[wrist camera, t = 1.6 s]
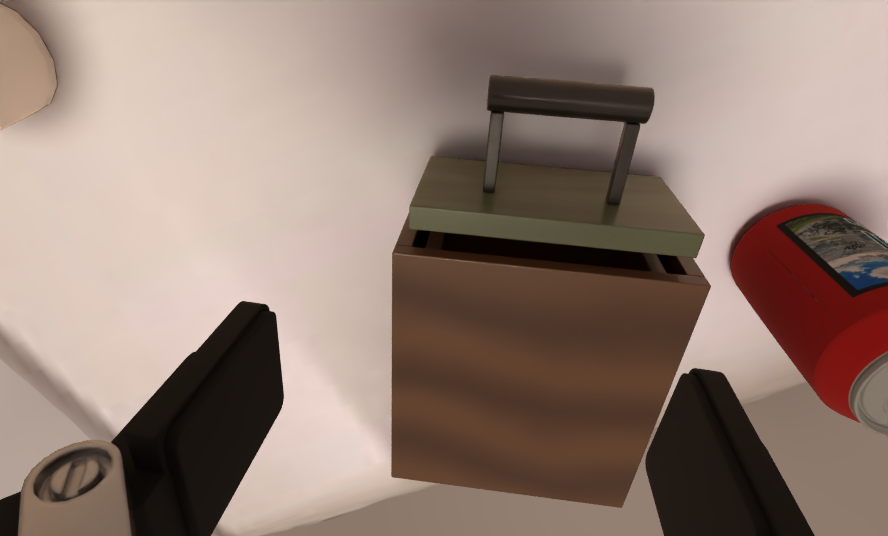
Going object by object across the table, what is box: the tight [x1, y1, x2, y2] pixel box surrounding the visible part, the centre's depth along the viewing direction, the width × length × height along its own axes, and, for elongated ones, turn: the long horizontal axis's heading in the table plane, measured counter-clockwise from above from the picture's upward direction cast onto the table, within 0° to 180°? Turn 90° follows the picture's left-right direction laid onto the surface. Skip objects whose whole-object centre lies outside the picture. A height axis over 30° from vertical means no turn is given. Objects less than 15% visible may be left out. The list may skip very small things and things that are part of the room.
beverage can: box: [731, 204, 888, 437], centre depth 25 cm, size 7×7×12 cm
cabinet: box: [391, 214, 711, 508], centre depth 30 cm, size 16×14×9 cm
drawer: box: [409, 75, 705, 273], centre depth 27 cm, size 20×13×7 cm, turn 177°
